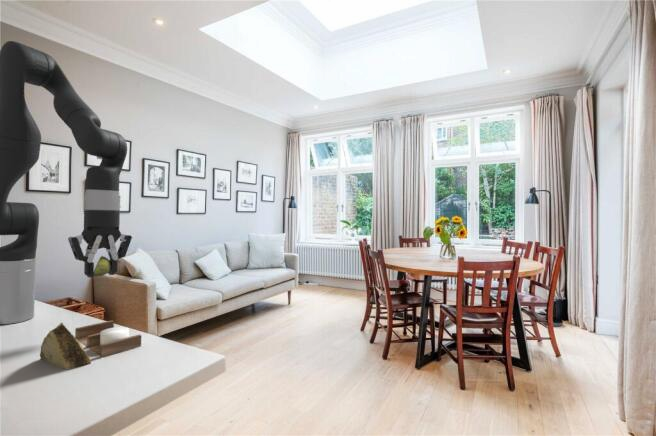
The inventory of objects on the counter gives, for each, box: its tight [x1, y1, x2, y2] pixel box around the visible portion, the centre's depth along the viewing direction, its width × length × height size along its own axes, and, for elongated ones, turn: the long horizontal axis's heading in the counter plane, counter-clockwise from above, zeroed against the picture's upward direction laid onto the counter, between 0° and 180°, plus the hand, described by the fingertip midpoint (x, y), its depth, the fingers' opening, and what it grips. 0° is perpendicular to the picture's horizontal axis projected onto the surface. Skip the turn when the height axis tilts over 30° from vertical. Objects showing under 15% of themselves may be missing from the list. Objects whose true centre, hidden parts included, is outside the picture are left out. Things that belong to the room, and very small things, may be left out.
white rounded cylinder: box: [100, 326, 130, 347], centre depth 77 cm, size 6×6×4 cm
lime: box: [93, 255, 111, 277], centre depth 85 cm, size 4×5×5 cm
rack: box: [74, 320, 142, 358], centre depth 79 cm, size 16×8×4 cm, turn 54°
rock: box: [39, 322, 92, 370], centre depth 70 cm, size 11×9×10 cm
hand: (100, 275), depth 85 cm, fingers closed on lime, 4 cm apart
